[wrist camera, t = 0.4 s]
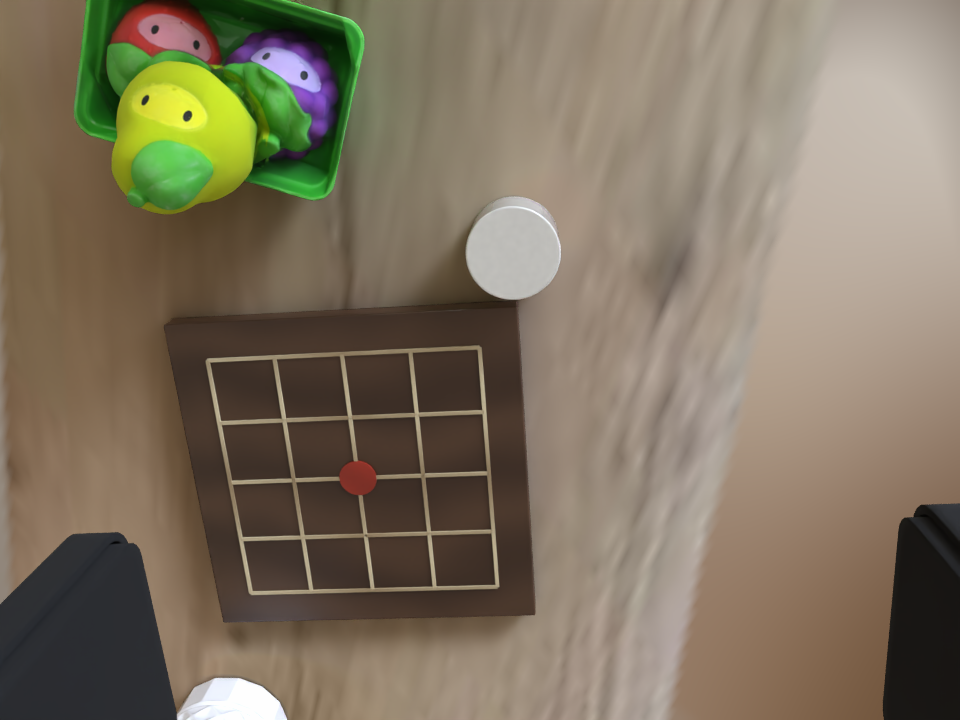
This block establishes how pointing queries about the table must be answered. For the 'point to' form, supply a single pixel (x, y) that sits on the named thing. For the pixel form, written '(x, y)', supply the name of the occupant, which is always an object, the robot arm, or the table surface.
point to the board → (360, 460)
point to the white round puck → (513, 248)
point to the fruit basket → (217, 96)
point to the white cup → (230, 702)
